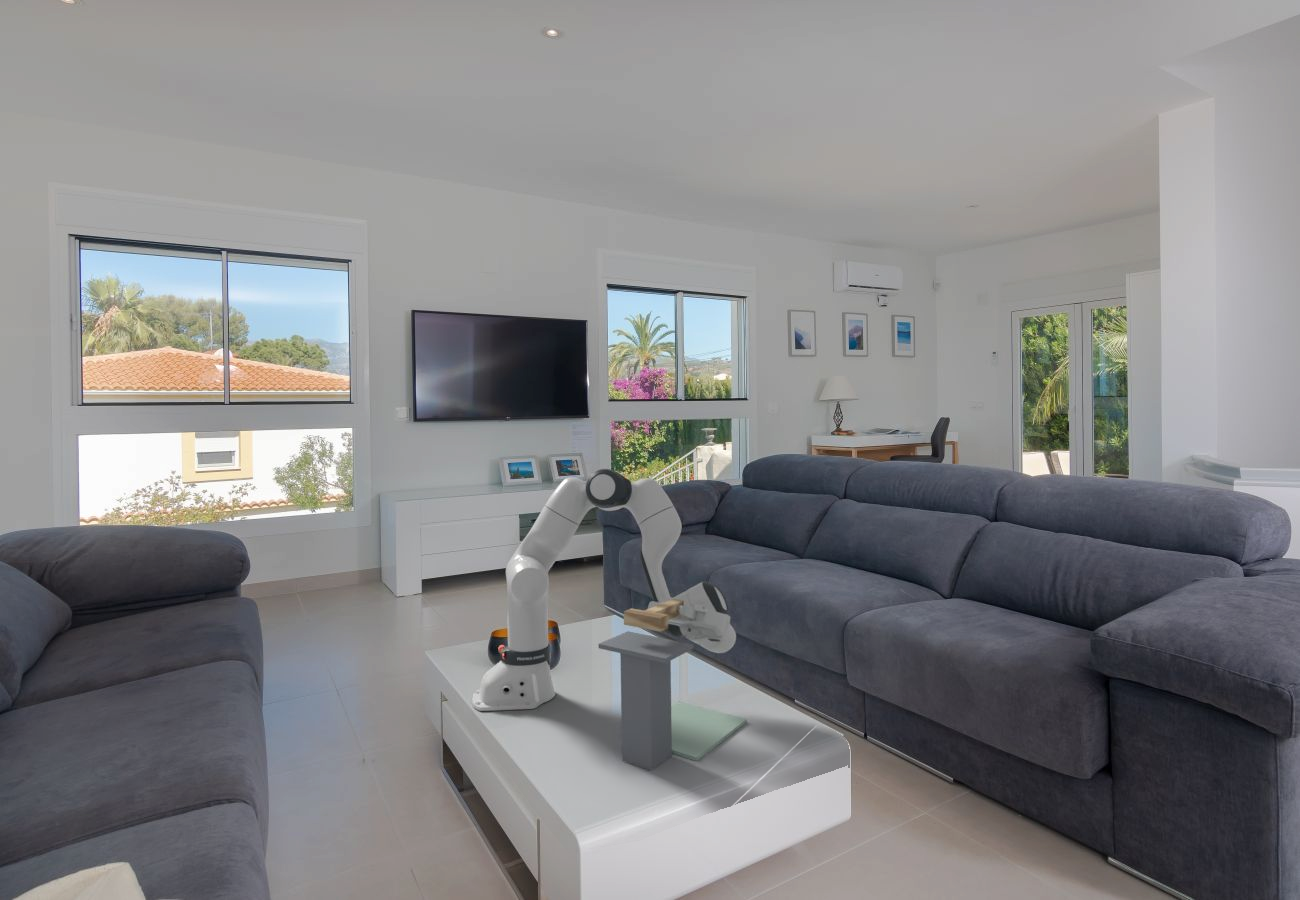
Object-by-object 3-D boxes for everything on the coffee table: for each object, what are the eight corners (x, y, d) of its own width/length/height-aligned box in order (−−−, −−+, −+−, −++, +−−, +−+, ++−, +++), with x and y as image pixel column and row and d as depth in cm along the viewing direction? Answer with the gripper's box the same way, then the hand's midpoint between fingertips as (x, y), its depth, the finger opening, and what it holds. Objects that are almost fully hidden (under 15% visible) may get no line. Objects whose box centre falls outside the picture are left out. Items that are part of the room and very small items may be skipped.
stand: (629, 738, 168) (627, 631, 167) (694, 759, 158) (692, 644, 156) (600, 757, 159) (598, 643, 158) (666, 780, 149) (665, 658, 147)
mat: (679, 704, 188) (679, 701, 188) (746, 722, 176) (746, 718, 176) (625, 738, 168) (625, 735, 168) (696, 761, 157) (696, 757, 157)
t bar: (661, 609, 171) (661, 596, 171) (696, 615, 165) (696, 602, 165) (623, 624, 159) (623, 611, 159) (660, 631, 153) (660, 618, 153)
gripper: (666, 605, 183) (638, 588, 173) (736, 617, 171) (711, 600, 161) (659, 629, 180) (631, 613, 170) (730, 643, 169) (704, 627, 158)
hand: (671, 607), depth 165 cm, fingers closed on t bar, 3 cm apart
